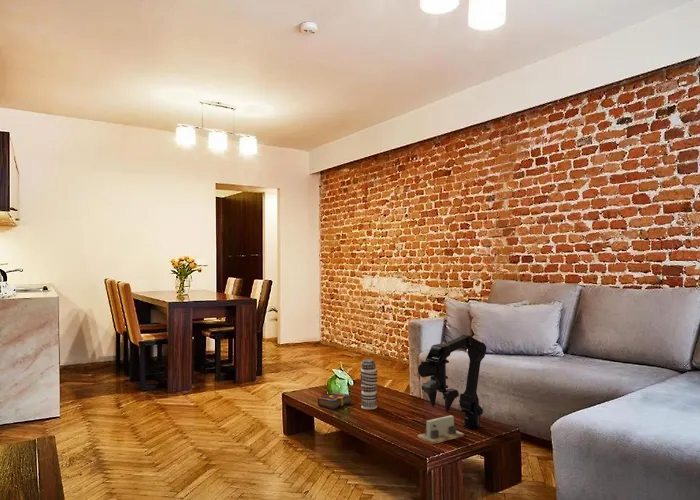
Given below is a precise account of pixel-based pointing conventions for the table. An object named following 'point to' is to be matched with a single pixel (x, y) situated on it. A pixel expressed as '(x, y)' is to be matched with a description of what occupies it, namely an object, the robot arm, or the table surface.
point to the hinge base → (437, 438)
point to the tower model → (368, 384)
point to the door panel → (439, 425)
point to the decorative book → (334, 400)
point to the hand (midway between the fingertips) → (440, 409)
